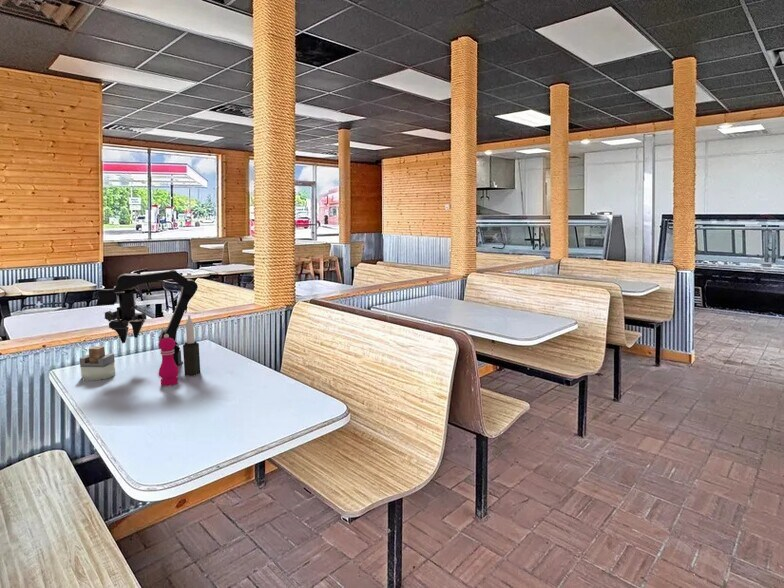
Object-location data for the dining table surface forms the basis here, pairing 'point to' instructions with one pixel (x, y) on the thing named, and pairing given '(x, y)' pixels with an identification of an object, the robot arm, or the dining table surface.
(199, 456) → the dining table surface
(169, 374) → the pepper mill
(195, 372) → the candle
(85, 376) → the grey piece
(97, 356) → the brown block
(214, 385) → the dining table surface
